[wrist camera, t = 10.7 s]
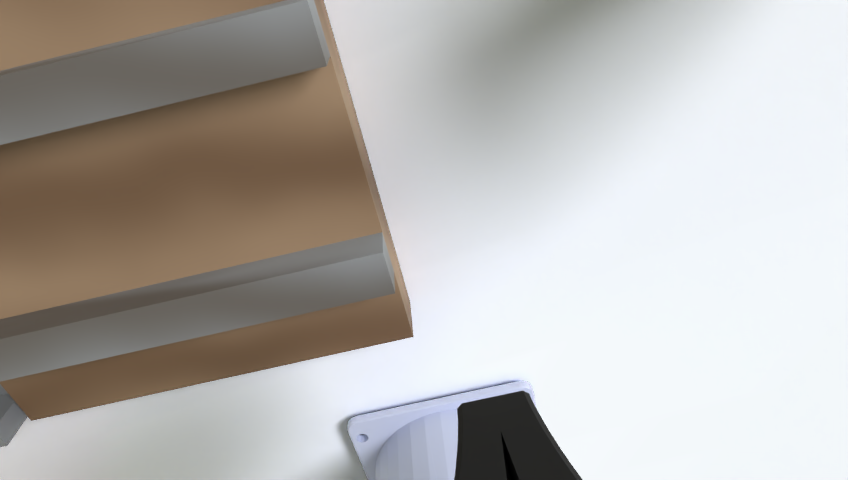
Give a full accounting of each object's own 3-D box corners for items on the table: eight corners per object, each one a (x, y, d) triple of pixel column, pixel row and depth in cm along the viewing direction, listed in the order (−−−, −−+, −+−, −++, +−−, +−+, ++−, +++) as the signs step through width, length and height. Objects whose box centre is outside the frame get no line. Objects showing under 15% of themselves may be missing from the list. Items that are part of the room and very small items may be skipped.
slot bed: (409, 302, 21) (415, 360, 18) (58, 380, 21) (12, 448, 19) (284, -135, 14) (262, -149, 11) (-235, -1, 14) (-380, 18, 12)
